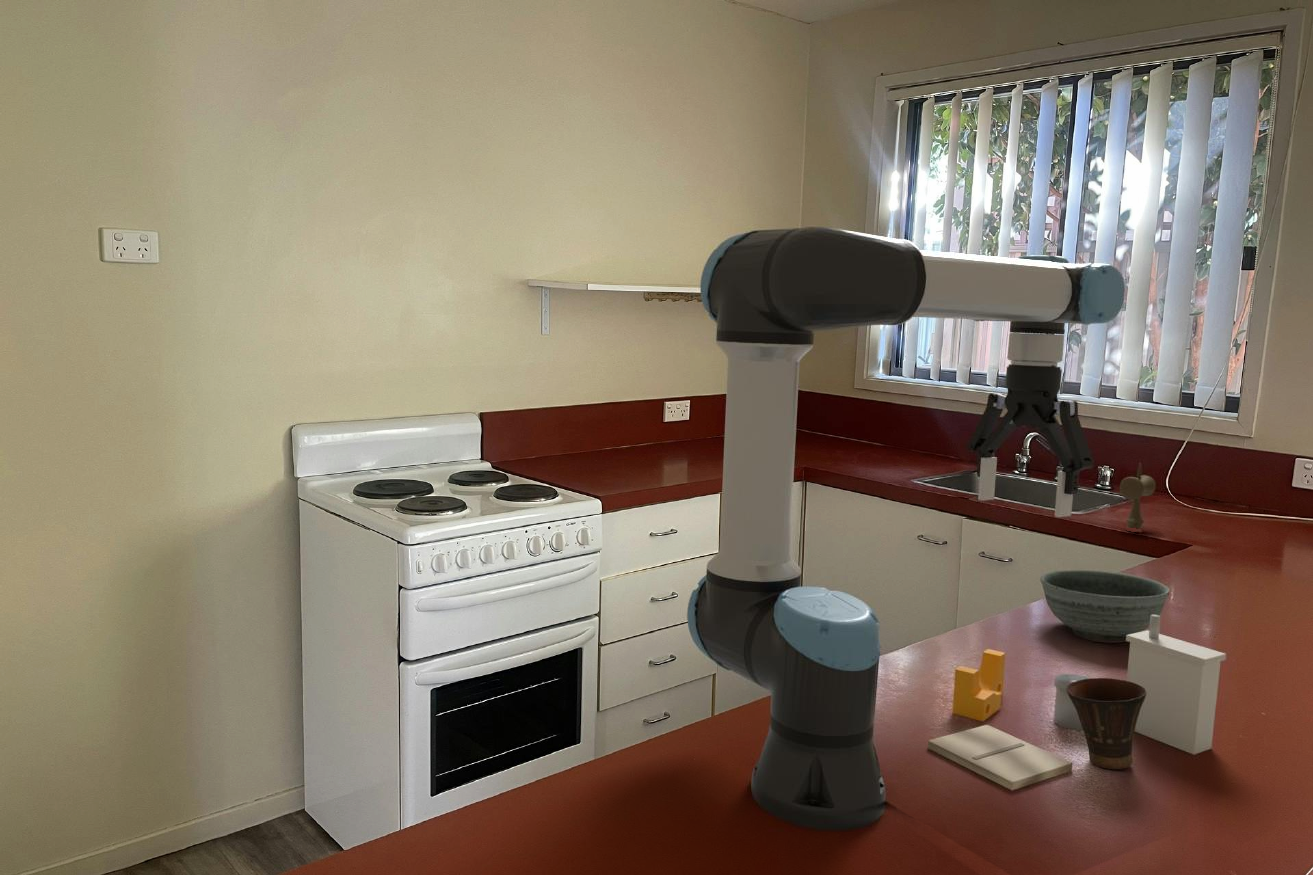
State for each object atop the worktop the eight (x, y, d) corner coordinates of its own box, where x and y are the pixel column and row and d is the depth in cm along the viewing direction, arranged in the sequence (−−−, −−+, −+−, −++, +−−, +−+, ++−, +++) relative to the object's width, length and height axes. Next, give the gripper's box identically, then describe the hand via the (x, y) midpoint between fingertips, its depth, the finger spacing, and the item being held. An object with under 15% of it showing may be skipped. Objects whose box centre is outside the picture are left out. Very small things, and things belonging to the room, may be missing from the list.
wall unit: (1195, 756, 129) (1207, 636, 127) (1117, 725, 138) (1128, 613, 136) (1216, 748, 131) (1228, 631, 130) (1138, 719, 141) (1149, 608, 139)
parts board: (1011, 790, 118) (1012, 781, 118) (927, 747, 129) (928, 739, 128) (1071, 770, 123) (1072, 761, 123) (986, 731, 134) (987, 723, 134)
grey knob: (1078, 733, 135) (1082, 690, 134) (1042, 719, 139) (1046, 677, 139) (1104, 726, 138) (1108, 683, 137) (1068, 712, 142) (1071, 670, 142)
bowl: (1132, 664, 164) (1138, 604, 163) (1013, 631, 179) (1018, 576, 178) (1185, 640, 178) (1190, 584, 176) (1070, 611, 193) (1074, 560, 192)
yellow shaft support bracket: (982, 722, 138) (986, 676, 137) (952, 713, 141) (955, 669, 140) (1014, 698, 147) (1017, 655, 147) (985, 690, 150) (988, 648, 149)
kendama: (1113, 538, 262) (1120, 462, 260) (1128, 534, 269) (1135, 459, 266) (1137, 543, 258) (1145, 465, 255) (1152, 538, 264) (1159, 462, 262)
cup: (1050, 744, 131) (1056, 670, 130) (1120, 748, 131) (1127, 673, 130) (1076, 775, 122) (1083, 696, 121) (1151, 779, 122) (1159, 699, 121)
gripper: (1129, 369, 139) (1115, 521, 141) (983, 359, 159) (973, 491, 162) (1095, 369, 135) (1081, 525, 137) (950, 358, 155) (940, 494, 158)
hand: (1022, 507), depth 150 cm, fingers open, 13 cm apart
